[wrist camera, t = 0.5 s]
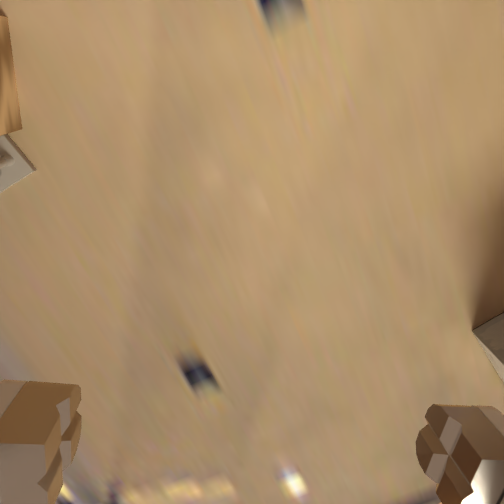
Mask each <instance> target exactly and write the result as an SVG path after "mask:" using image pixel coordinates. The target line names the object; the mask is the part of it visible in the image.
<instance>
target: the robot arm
mask: <svg viewBox="0 0 504 504" xmlns="http://www.w3.org/2000/svg"><path fill="white" fill-rule="evenodd" d="M80 402H81V387H80V386H79V385H75V384H62V383H49V382H37V381H29V382H28V381H18V380H5V379H4V380H2V381H0V504H55V502H56V500H57V497H58V495H59V492H60V490H61V488H62V485H63V474H62V471H63V470H65V469H66V468H67V467H69V466H70V465H71V464H72V461H73V459H74V456H75V454H76V451H77V447H78V443H79V439H80V434H81V415H80V414H79V413H78V412H77V411H76V410H77V408H78V406H79V404H80ZM425 418H426V421H427V423H428V425H426V426H425V427H424V428H423V429H421V430H420V431H419V434H418V437H417V440H416V454H417V457H418V461H419V464H420V466H421V467H422V469H423V471H424V473H425V474H426V475H427V476H428V477H429V478H431V479H432V480H433V481H434V482H436V483H437V484H436V494H437V495H438V497H439V499H440V501H441V502H442V504H504V415H503V414H502V413H501V412H500V411H499V410H497V409H496V408H494V407H492V406H463V405H442V404H433V405H432V406H430V407H429V408H428V410H427V413H426V415H425Z"/></svg>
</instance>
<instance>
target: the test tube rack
mask: <svg viewBox="0 0 504 504" xmlns="http://www.w3.org/2000/svg"><path fill="white" fill-rule="evenodd" d="M34 171H36V168H35V167H34V166H33V165H32V163H31V162H30V161H29V160H28V159H27V157H26V156H25V155H24V154H23V153H22V152H21V150H20V149H19V148H18V147H17V145H16V144H15V143H14V142H13V141H12V140H11V138H10V137H9V136H8V135H7V134H4V135H2V136H0V193H1V192H3V191H4V190H6V189H7V188H9V187H11V186H12V185H14V184H15V183H17V182H18V181H20V180H22V179H23V178H25V177H26V176H28V175H30V174H31V173H33V172H34Z"/></svg>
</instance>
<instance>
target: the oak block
mask: <svg viewBox="0 0 504 504" xmlns="http://www.w3.org/2000/svg"><path fill="white" fill-rule="evenodd" d="M21 129H22V124H21V116H20V109H19V101H18V94H17V86H16V78H15V71H14V63H13V56H12V48H11V41H10V33H9V25H8V18H7V17H4V16H0V136H1V135H4V134H7V133H11V132H14V131H17V130H21Z"/></svg>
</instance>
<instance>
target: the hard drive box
mask: <svg viewBox="0 0 504 504" xmlns="http://www.w3.org/2000/svg"><path fill="white" fill-rule="evenodd" d="M473 334H474V335H475V337H476V338H477V340H478V341H479V343H480V345H481V347H482V348H483V350H484V351H485V353H486V355H487V356H488V358H489V360H490V361H491V363H492V365H493V366H494V368H495V370H496V371H497V373H498V375H499V376H500V378H501V380H502V381H503V383H504V313H502V314H500V315H499V316H497V317H495V318H493V319H492V320H490V321H488V322H486V323H485V324H483V325H481V326H479V327H478V328H476V329H474V330H473Z"/></svg>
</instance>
